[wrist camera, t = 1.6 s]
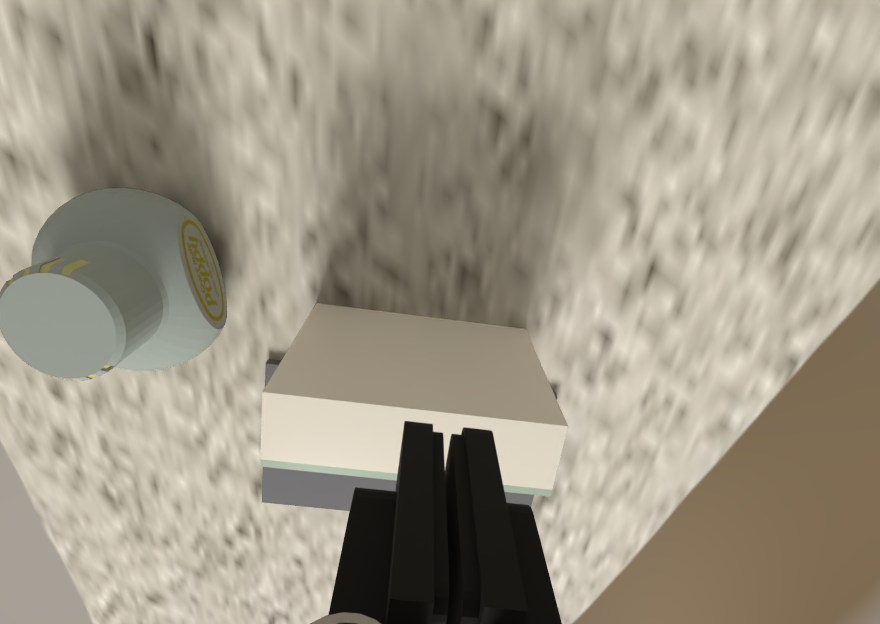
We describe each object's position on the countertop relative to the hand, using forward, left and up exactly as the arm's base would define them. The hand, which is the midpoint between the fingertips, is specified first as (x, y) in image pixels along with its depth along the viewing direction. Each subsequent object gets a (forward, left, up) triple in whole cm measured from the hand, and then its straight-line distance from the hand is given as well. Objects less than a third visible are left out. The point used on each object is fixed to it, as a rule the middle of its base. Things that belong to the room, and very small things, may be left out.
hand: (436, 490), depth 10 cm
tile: (+8, 0, -25) cm, 26 cm away
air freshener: (+5, -17, -25) cm, 31 cm away
